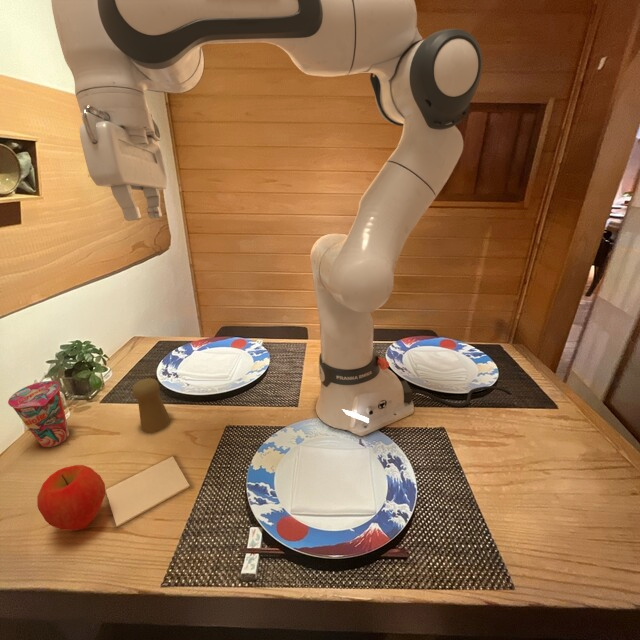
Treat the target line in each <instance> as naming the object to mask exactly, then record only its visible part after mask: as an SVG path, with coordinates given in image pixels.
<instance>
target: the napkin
mask: <svg viewBox="0 0 640 640" xmlns="http://www.w3.org/2000/svg"><path fill="white" fill-rule="evenodd" d="M190 487H191V486H190V483H188V480H187V478H186V477H185V475H184V473H183V471H182V470H181V468H180V466H179V464H178V462H177V461H176V459H175V457H174V456H170V457H168V458H166V459H164V460H162V461H160V462H158V463H156V464H154V465H152V466H150V467H148V468H146V469H144V470H142V471H140V472H138V473H136V474H133V475H132V476H129V477H128V478H126V479H124V480H122V481H120V482H117V483H116V484H114V485H112V486H110V487H108V488H105V494H106V496H107V500H108V504H109V506H110V510H111V514H112V516H113V520H114V523H115V526H116V528H119V527H121V526H123V525H124V524H126V523H128V522H129V521H131V520H133V519H135V518H137V517H138V516H140V515H142V514H144V513H145V512H147V511H150V510H151V509H153V508H154V507H156V506H158V505H160V504H162V503H164V502H165V501H167V500H170V499H171V498H172V497H174V496H176V495H178V494H180V493H182V492H184V491H185V490H187V489H189V488H190Z"/></svg>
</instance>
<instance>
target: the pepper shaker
mask: <svg viewBox="0 0 640 640" xmlns="http://www.w3.org/2000/svg"><path fill="white" fill-rule="evenodd" d="M132 395H133V397H134V398H135V399H136V400H137V405H138V413H139V421H140V429H141V430H142V431H143V432H145V433H149V434H150V433H151V434H152V433H157V432H160V431H162V430H164V429H165V428H166V427H167V426H169V424H170V423H171V417H170V415H169V412H168V411H167V409H166V406H165V404H164V402H163V400H162V398H161V395H160V384H159V382H158V381H157V380H156V379H154V378H152V377H151V378H143V379H140V380H139V381H137V382H136V383H134V384H133V387H132Z"/></svg>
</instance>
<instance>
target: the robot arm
mask: <svg viewBox="0 0 640 640" xmlns="http://www.w3.org/2000/svg"><path fill="white" fill-rule="evenodd" d="M50 2H51V9H52V10H51V11H52V15H53V21H54V25H55V29H56V34H57V38H58V40H59V43H60V48H61V51H62V55H63V59H64V61H65V63H66V65H67V67H68V68H69V70H70V72H71V75H72V77H73V81H74V94H75V98H76V101H77V105H78V108H79V111H80V114H81V120H82V124H81V125H80V126H79V137H80V138H79V139H80V143H81V147H82V151H83V152H82V153H83V157H84V160H85V163H86V168H87V171H88V174H89V176H90V178H91V180H92V181H93V183H94V184H95V185H96V186H97V187H106V188H110V190H111V191H112V196H113V197H114V199H115V201H116V202H117V204H118V206H119V207H120V209H121V210H122V214H123V218H124V220H125V221H127V222H131V221H139V220H141V219H142V215H141V211H140V207H139V206H137V205H136V202H135V199H134V197H133V195H132V194H133V191H134V190H135V191H142V192H143V195H144V197H145V198H146V204H147V205H146V206H147V207H146V212H147V215H148V218H149V219H152V220H153V219H160V218H162V217H163V212H162V208H161V194H160V191H163V190H166V189H167V187H168V177H167V171H166V166H165V160H164V156H163V152H162V148H161V146H160V143H159V142H160V141H162V135H161V134H162V133H161V130H160V128H159V126H158V125H157V123H156V122H155V119H154V118H153V116H152V112H151V110H150V109H149V104H148V100H147V96H146V91H150V92H155V93H164V94H184V93H187V92H190V91H192V90H194V88H196V87H197V85H198V84H199V83H200V82H201V80H202V78H203V75H204V71H205V56H204V51H203V47H202V46H205V45H209V44H210V45H212V44H214V45H215V44H243V43H246V44H247V43H265V44H266V43H267V44H271V45H273V46H276V47H278V48H280V50H281V49H282V50H283V51H284V53H286V54H287V55H288V57H289V58H290V59H291V61H292V63H293V64H294V65H295V67H297V68H298V70H299V71H301V72H302V73H304V74H305V75H308V76H315V77H324V78H325V77H329V78H330V77H331V78H332V77H341V76H350V75H355V74H366V73H367V74H370V75H369V79H370V84H371V87H372V90H373V95H374V101H375V105H376V109H377V110H378V112H379V114H380V115H381V117H382V118H383V119H384V121H386V122H388V123H389V124H392V125H395V126H400V127H403V128H402V132H401V136H400V138H399V142H398V144H397V145H396V147H395V149H394V150H393V152H392V153H391V154H390V156H389V157H388V158H387V160H386V161H385V162H384V164H383V166H382V167H381V169H380V170H379V171H378V173H377V174H376V176H375V177H374V179H373V180H372V181H371V183H370V184H369V185H368V187H367V188H366V190H365V191H364V193H363V194H362V196H361V198H360V200H359V202H358V208H357V209H358V210H357V213H356V216H355V218H354V221H353V223H352V225H351V228H350V230H349V232H348V233H347V234H344V233H328V234H324V235H323V236H321V237H320V238H318V239H317V240H316V241H315V242H314V244H313V245H312V247H311V250H310V257H309V258H310V264H311V265H310V266H311V270H312V271H311V272H312V279H313V288H314V295H315V296H314V297H315V302H316V308H317V313H318V320H319V321H318V322H319V333H320V354H319V355H318V356H319V357H318V361H319V362H318V375H319V376H318V377H319V379H320V386H319V394H318V397H317V401H316V404H315V412H316V413H315V414H316V415H317V417H318V418H319V420H320V421H321V422H323V423H324V424H326V425H327V426H330V427H331V428H335V429H338V430H344V431H348V432H350V433H352V434H354V435H356V436H360V437H363V436H366V435H369V434H371V433H374V432H376V431H378V430H380V429H382V428H384V427H386V426H388V425H390V424H393V423H395V422H397V421H399V420H403V419H404V418H406V417H409V416H411V415H413V414H414V412H415V404H414V402H413V401H414V400H413V394H419V395H425V396H427V397H428V398H430V399H431V400H434V401H436V402H439V403H442V404H444V405H447V406H451V407H457V408H461V407H465V406H468V405H469V404H470V402H471V398H472V395H473V393H476V392H480V391H486V390H487V391H488V390H496V391H500V392H503V393H505V394H507V395H509V396H512V392H511V391H510V390H508V389H507V388H504V387H501V386H497V385H486V386H479V387H475V388H472V389H470V390H469V391H468V393H467V396H466V400H465V401H464V402H451V401H448V400H446V399H442V398H440V397H437V396H435V395H433V394H431V392H427V391H425V390H420V389H413V388H411V387H410V385H409V383H408V381H407V380H400V379H399V378H398V376H397V375H396V374H395V373H394V372H393V371H392V370H390V369H389V367H390V362H389V361H388V360H386V358H385V357H381V355H380V354H379V352H378V351H376V350H374V330H375V329H374V328H375V324H374V319H373V316H372V314H371V313H373V312H374V311H376V310H379V309H380V308H381V307H383V306H384V305H385V304H386V303H387V302H388V300H389V299H390V297H391V295H392V294H393V290H394V286H395V269H396V266H397V263H398V260H399V258H400V256H401V253H402V250H403V248H404V246H405V244H406V242H407V240H408V238H409V236H410V234H411V233H412V232H413V230H414V228H415V227H416V226H417V224H418V223H419V222H420V220H421V219H422V217H423V215H425V213H426V212H427V210H428V209H429V207H430V206H431V205H432V204H433V202H434V201H435V200H436V198H437V196H438V195H439V194H440V193H441V191H442V189H443V188H444V186H445V185H446V183H447V181H448V180H449V178H450V177H451V175H452V174H453V171H454V169H455V167H456V166H457V164H458V162H459V160H460V158H461V156H462V154H463V150H464V138H463V135H462V133H461V131H460V130H459V129H458V127H457V126H456V125H458V124H460V123H461V122H462V121H463V120H464V119H465V118H466V117H467V115H468V113H469V111H470V106H471V101H472V100H473V98H474V96H475V94H476V92H477V91H478V87H479V84H480V82H481V77H482V74H483V73H482V72H483V63H484V62H483V61H484V60H483V53H482V49H481V46H480V44H479V42H478V40H477V39H476V37H475V36H474V35H472V33H470V32H469V31H466V30H464V29H460V28H446V29H441V30H438V31H435V32H433V33H431V34H429V35H428V36H427V37H426V38H424V39H423V36H422V35H421V34H420V32H419V29H418V27H417V26H418V13H417V6H416V5H417V4H416V1H415V0H51V1H50ZM460 116H461V117H460Z"/></svg>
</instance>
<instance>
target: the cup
mask: <svg viewBox="0 0 640 640" xmlns="http://www.w3.org/2000/svg"><path fill="white" fill-rule="evenodd" d="M60 387H61V385H60V383H59V382H58V381H55V380H46V381H45V380H43V381H40V382H39V381H38V382H36V383H32V384H30V385H27V386H25V387H22V388H21V389H19V390H17V391H16V392H14V393H13V394H11V396H10V397H9V398H8V401H7V403H8V406H9V407H10V408H12V409H13V410H14V411H15V412H16V414H17V416H18V417H19V418H20V419H21V421H22V422H23V423H24V425H25V426H26V427H27V429H28V430H29V432H30V433H31V434H32V435H33V437H34V438H35V439H36V440H37V442H38V443H39V444H40V446H41V447H42V448H53V447H55V446H58V445H60V444H62V443H63V442H65V441H66V440H67V439H68V438H69V436H70V430H69V426H68V421H67V416H66V412H65V408H64V403H63V400H62V395H61V392H60Z"/></svg>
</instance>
